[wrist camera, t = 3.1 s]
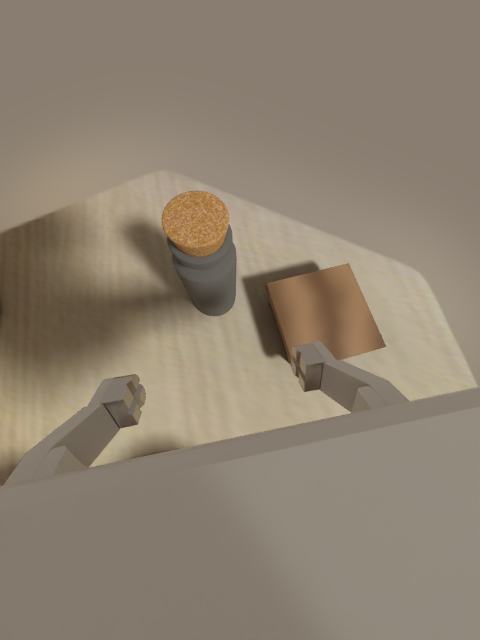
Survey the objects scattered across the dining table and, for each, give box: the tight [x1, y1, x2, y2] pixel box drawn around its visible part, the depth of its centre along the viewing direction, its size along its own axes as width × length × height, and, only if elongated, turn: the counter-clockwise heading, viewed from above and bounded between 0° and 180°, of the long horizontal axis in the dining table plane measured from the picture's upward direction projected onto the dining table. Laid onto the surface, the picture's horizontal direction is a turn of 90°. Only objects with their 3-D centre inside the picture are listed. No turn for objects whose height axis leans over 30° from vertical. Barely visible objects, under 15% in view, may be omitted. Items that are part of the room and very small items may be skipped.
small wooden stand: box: [265, 263, 386, 373], centre depth 26 cm, size 11×11×4 cm
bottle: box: [162, 191, 236, 316], centre depth 22 cm, size 6×6×15 cm
